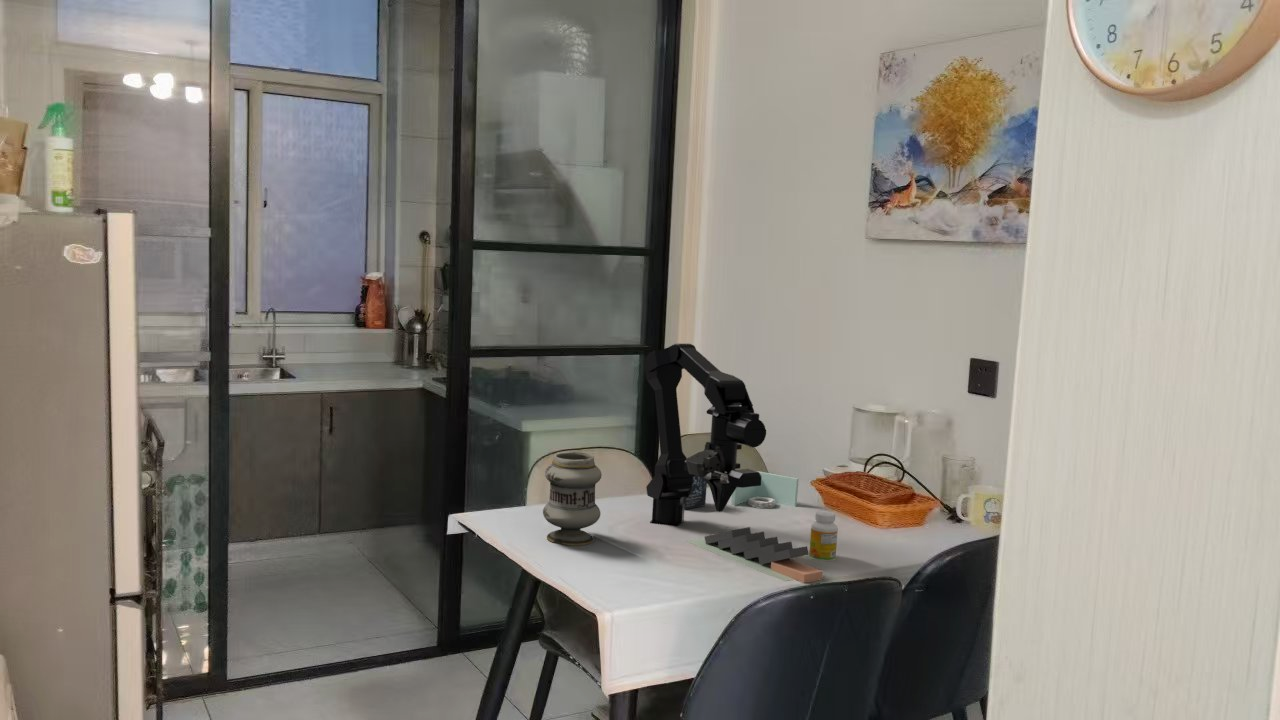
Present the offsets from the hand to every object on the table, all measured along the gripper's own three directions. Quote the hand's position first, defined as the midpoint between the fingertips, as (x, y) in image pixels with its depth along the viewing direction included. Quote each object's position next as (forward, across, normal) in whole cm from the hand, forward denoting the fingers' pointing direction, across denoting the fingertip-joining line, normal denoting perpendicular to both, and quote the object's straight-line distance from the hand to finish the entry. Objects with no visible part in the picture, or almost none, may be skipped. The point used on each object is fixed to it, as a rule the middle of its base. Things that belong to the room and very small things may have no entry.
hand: (719, 511), depth 222 cm
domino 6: (+6, +19, 0) cm, 20 cm away
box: (+8, -31, +17) cm, 36 cm away
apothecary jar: (+8, -18, -26) cm, 32 cm away
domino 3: (+6, +7, 0) cm, 9 cm away
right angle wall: (+8, -24, +36) cm, 43 cm away
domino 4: (+6, +11, 0) cm, 13 cm away
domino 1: (+6, -1, 0) cm, 6 cm away
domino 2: (+6, +3, 0) cm, 7 cm away
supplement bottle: (+8, +17, +14) cm, 23 cm away
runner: (+8, +11, 0) cm, 13 cm away
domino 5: (+6, +16, 0) cm, 17 cm away
